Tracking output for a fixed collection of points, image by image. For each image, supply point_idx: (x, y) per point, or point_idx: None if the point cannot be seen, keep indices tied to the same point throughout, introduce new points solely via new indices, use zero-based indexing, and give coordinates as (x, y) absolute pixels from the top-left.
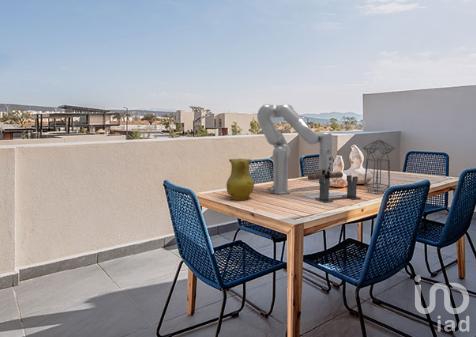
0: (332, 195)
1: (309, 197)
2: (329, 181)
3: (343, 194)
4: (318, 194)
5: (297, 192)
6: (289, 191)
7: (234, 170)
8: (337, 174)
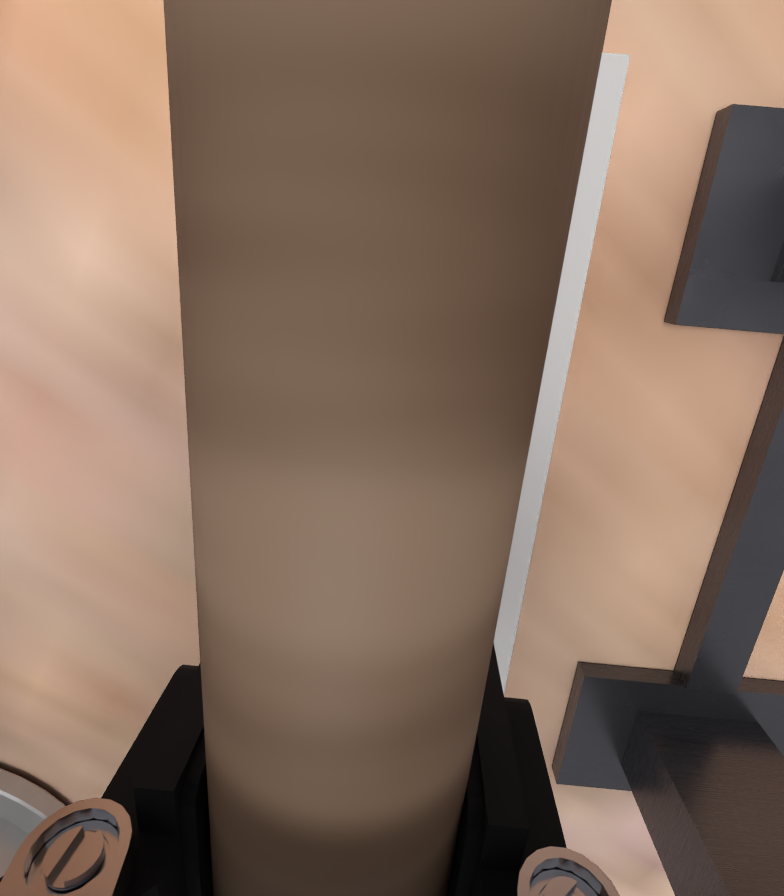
0: (544, 464)
1: None
2: None
3: (597, 207)
4: None
5: (39, 693)
6: (43, 814)
7: None
8: (561, 269)
